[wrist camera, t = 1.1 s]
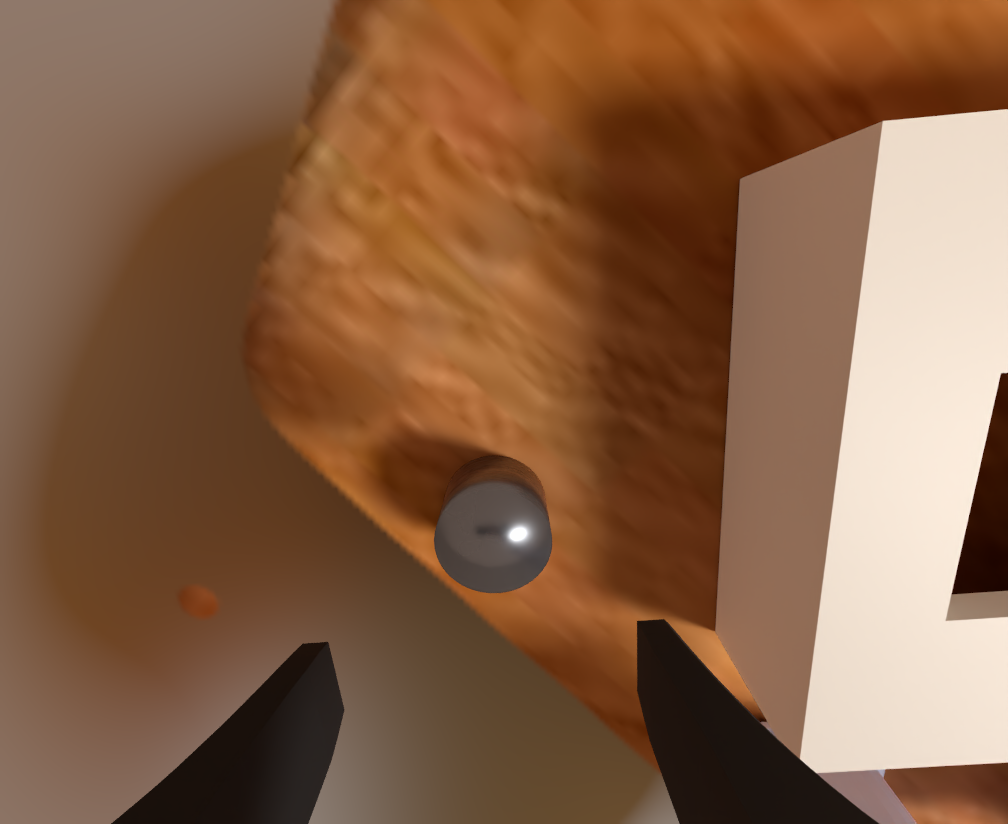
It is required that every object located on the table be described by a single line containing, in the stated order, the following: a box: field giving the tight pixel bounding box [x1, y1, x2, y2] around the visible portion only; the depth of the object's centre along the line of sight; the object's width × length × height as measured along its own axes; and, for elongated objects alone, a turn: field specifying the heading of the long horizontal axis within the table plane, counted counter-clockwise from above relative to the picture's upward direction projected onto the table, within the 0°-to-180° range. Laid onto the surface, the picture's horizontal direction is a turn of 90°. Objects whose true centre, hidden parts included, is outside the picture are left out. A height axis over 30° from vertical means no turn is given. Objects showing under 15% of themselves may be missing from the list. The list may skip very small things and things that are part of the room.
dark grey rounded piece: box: [434, 456, 552, 593], centre depth 17 cm, size 4×4×3 cm
